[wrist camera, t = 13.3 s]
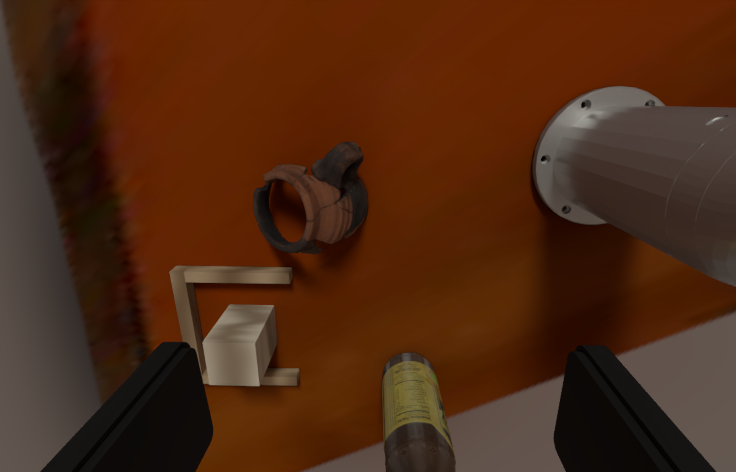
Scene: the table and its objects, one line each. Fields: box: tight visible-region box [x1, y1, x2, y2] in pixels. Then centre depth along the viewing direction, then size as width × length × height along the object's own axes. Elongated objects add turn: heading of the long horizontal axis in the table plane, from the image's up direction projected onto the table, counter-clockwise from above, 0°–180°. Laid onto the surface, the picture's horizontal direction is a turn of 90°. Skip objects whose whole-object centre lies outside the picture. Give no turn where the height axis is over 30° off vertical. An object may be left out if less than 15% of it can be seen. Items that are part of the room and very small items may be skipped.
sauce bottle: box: [382, 353, 456, 472], centre depth 35 cm, size 6×6×20 cm
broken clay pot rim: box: [253, 142, 368, 254], centre depth 35 cm, size 12×10×8 cm
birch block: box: [202, 305, 277, 386], centre depth 40 cm, size 5×5×7 cm
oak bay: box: [170, 266, 300, 386], centre depth 42 cm, size 12×14×2 cm
